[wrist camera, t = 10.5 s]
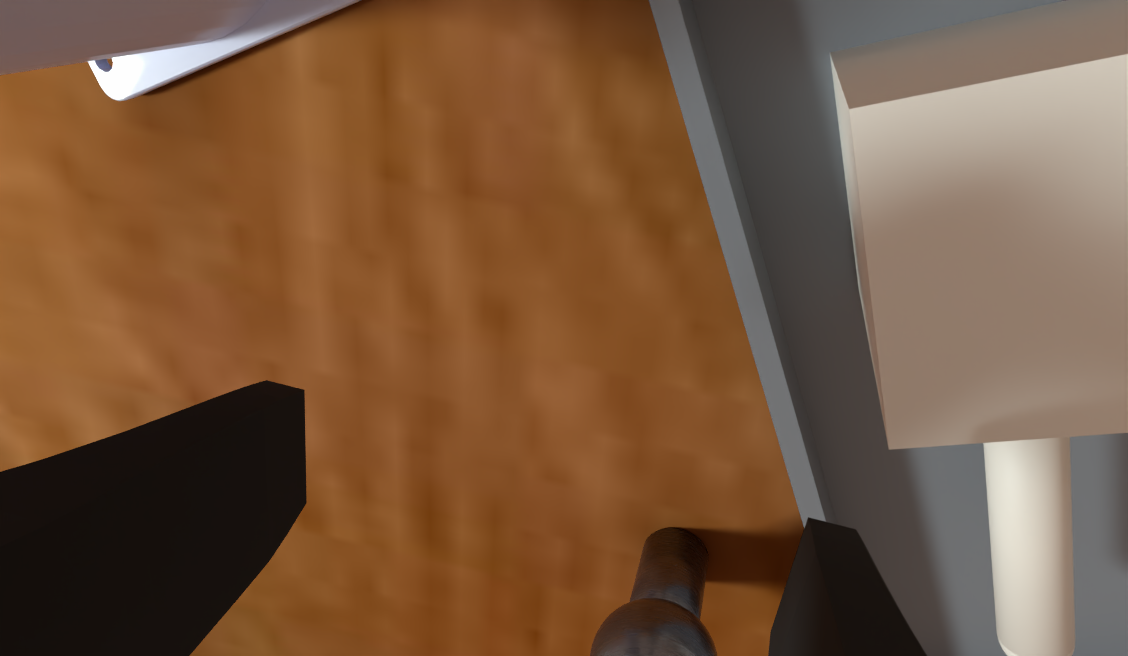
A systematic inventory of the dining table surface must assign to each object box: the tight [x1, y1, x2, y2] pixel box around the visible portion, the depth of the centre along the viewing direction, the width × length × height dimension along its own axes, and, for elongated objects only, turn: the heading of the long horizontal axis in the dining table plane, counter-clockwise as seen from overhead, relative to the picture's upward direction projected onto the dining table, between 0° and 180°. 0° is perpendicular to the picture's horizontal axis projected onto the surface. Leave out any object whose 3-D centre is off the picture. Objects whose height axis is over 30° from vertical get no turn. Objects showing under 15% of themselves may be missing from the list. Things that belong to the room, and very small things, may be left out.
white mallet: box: [830, 0, 1128, 656], centre depth 15 cm, size 13×5×7 cm, turn 14°
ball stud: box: [590, 528, 717, 656], centre depth 20 cm, size 3×3×6 cm
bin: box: [649, 0, 1128, 656], centre depth 17 cm, size 20×10×2 cm, turn 20°
